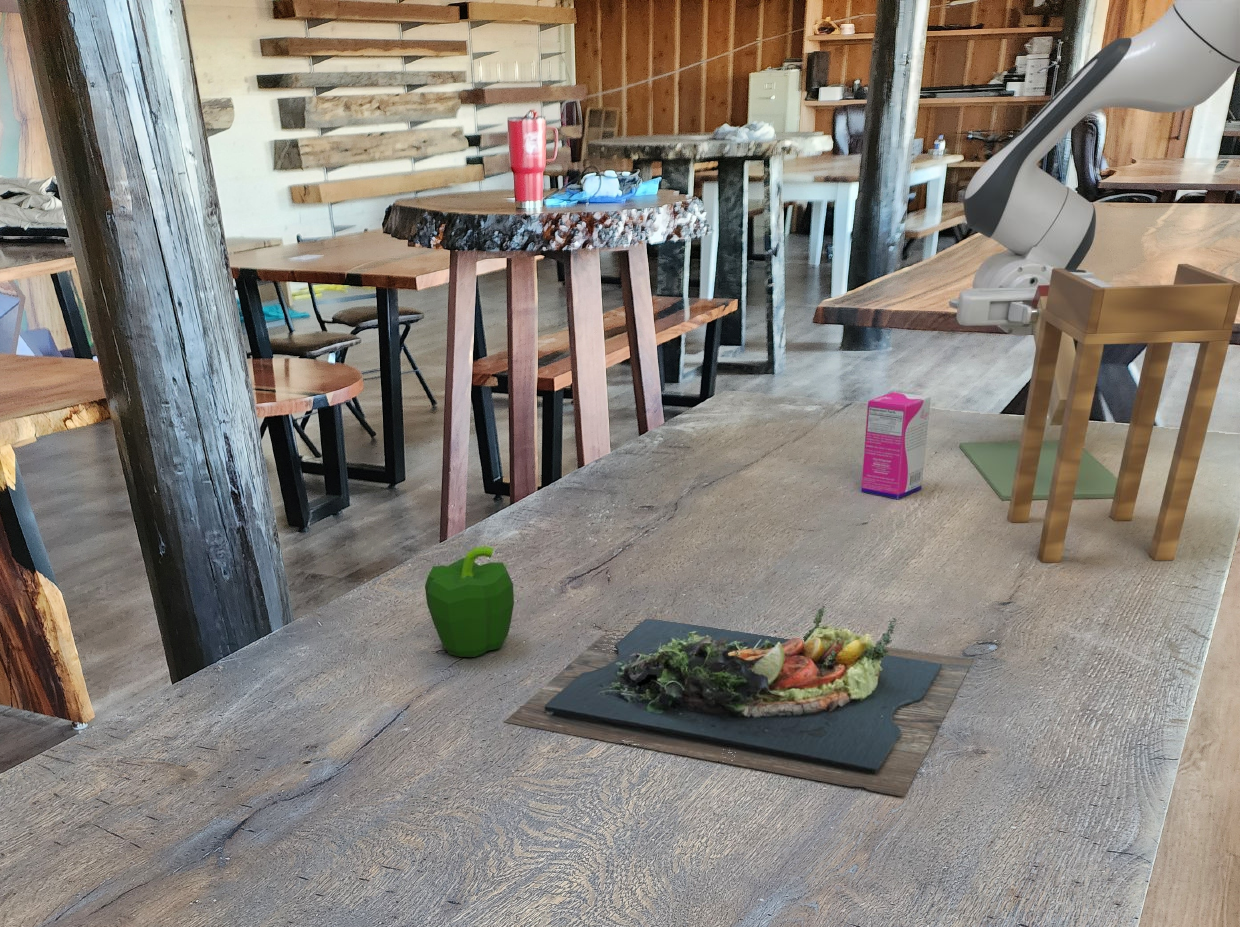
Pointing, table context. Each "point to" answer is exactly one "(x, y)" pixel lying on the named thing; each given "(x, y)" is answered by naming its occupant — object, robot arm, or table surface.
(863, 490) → the supplement box
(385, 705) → the table surface
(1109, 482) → the rubber mat
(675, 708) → the plated dish
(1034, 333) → the maple bar
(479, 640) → the bell pepper
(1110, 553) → the table surface
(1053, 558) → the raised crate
